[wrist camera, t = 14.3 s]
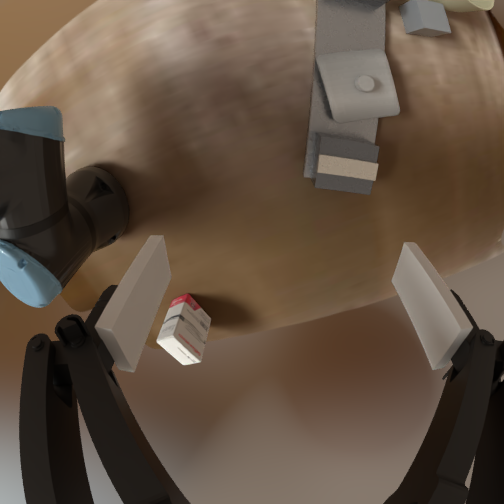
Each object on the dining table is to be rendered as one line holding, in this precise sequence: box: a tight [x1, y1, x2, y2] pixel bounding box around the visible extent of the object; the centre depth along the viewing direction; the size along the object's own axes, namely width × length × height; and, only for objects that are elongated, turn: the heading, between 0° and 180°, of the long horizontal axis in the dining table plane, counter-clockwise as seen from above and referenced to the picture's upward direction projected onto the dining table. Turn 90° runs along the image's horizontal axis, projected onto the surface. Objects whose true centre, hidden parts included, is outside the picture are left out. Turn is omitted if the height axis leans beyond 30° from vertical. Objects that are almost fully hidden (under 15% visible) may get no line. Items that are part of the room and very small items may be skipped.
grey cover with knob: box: [316, 49, 400, 124], centre depth 28 cm, size 10×10×5 cm
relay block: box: [399, 0, 451, 37], centre depth 21 cm, size 5×5×6 cm
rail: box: [303, 0, 390, 195], centre depth 28 cm, size 10×36×7 cm, turn 177°
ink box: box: [157, 294, 211, 365], centre depth 52 cm, size 8×5×12 cm, turn 30°
